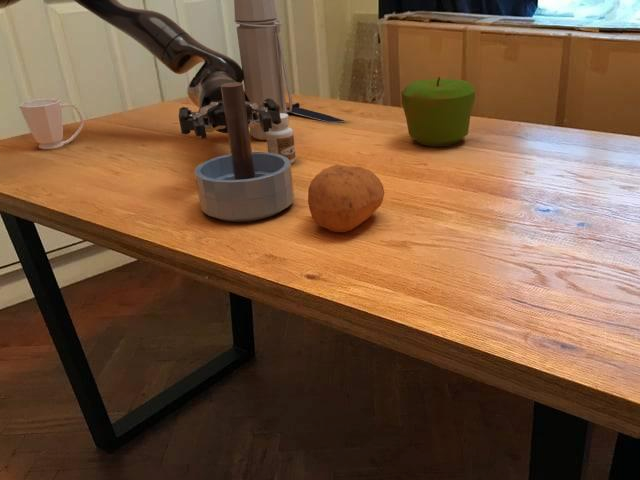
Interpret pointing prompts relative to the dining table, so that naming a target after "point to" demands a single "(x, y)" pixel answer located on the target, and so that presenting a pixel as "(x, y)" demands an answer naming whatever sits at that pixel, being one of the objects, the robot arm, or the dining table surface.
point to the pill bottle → (281, 139)
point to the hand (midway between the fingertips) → (234, 128)
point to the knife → (311, 113)
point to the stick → (238, 130)
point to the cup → (47, 121)
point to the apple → (438, 110)
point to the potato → (344, 197)
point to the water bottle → (261, 55)
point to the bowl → (245, 188)
